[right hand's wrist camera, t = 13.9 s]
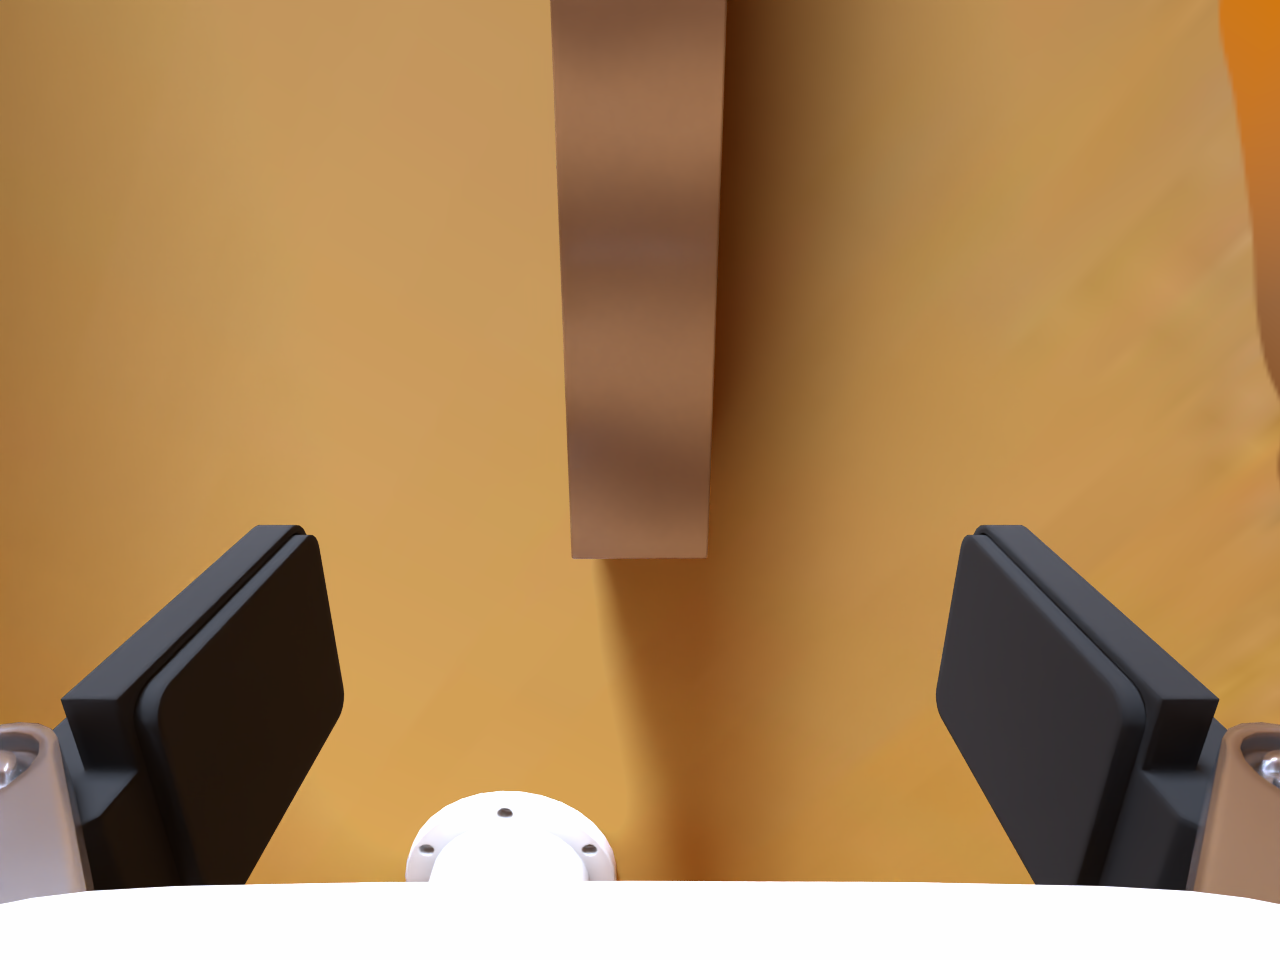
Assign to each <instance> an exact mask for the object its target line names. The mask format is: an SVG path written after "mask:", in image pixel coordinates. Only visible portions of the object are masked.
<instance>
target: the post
mask: <svg viewBox="0 0 1280 960" xmlns="http://www.w3.org/2000/svg"><path fill="white" fill-rule="evenodd" d="M550 6H551V32H552V58H553V85H554V111H555V137H556V163H557V189H558V215H559V241H560V267H561V293H562V319H563V346H564V372H565V398H566V424H567V450H568V476H569V502H570V528H571V554H572V558H573V559H706V558H707V556H708V528H709V499H710V471H711V442H712V414H713V385H714V357H715V328H716V300H717V271H718V243H719V215H720V186H721V158H722V129H723V101H724V72H725V44H726V15H727V0H550Z"/></svg>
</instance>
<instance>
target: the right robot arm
mask: <svg viewBox="0 0 1280 960" xmlns="http://www.w3.org/2000/svg"><path fill="white" fill-rule="evenodd" d="M61 702H62V705H63V708H64V711H65V714H66V718H65V719H64V720H63V721H62V722H61V723H60V724H59V725H58V726H57V727H55V728H54V729H53V730H52V729H51V728H48V727H46V726H43V725H41V724H38V723H22V722H18V723H10V724H2V725H0V960H1280V725H1278V724H1270V723H1262V722H1258V723H1242V724H1239V725H1237V726H1234V727H1232V728H1229V729H1228V730H1227V729H1226V728H1225V727H1223V726H1222V725H1221V724H1220V723H1219V722H1218V721H1217V720H1216V719H1215V718H1214V714H1215V711H1216V708H1217V705H1218V702H1219V698H1217V697H1216V696H1215V695H1214V694H1213V693H1212V692H1211V691H1210V690H1208V689H1207V688H1206V687H1205V686H1204V685H1203V684H1202V683H1201V682H1199V681H1198V680H1197V679H1196V678H1195V677H1194V676H1193V675H1192V674H1190V673H1189V672H1188V671H1187V670H1186V669H1185V668H1184V667H1183V666H1181V665H1180V664H1179V663H1178V662H1177V661H1176V660H1175V659H1174V658H1172V657H1171V656H1170V655H1169V654H1168V653H1167V652H1166V651H1165V650H1163V649H1162V648H1161V647H1160V646H1159V645H1158V644H1157V643H1156V642H1154V641H1153V640H1152V639H1151V638H1150V637H1149V636H1148V635H1147V634H1145V633H1144V632H1143V631H1142V630H1141V629H1140V628H1139V627H1138V626H1136V625H1135V624H1134V623H1133V622H1132V621H1131V620H1130V619H1129V618H1127V617H1126V616H1125V615H1124V614H1123V613H1122V612H1121V611H1120V610H1118V609H1117V608H1116V607H1115V606H1114V605H1113V604H1112V603H1111V602H1109V601H1108V600H1107V599H1106V598H1105V597H1104V596H1103V595H1102V594H1100V593H1099V592H1098V591H1097V590H1096V589H1095V588H1094V587H1093V586H1091V585H1090V584H1089V583H1088V582H1087V581H1086V580H1085V579H1084V578H1082V577H1081V576H1080V575H1079V574H1078V573H1077V572H1076V571H1075V570H1073V569H1072V568H1071V567H1070V566H1069V565H1068V564H1067V563H1066V562H1064V561H1063V560H1062V559H1061V558H1060V557H1059V556H1058V555H1057V554H1055V553H1054V552H1053V551H1052V550H1051V549H1050V548H1049V547H1048V546H1046V545H1045V544H1044V543H1043V542H1042V541H1041V540H1040V539H1039V538H1037V537H1036V536H1035V535H1034V534H1033V533H1032V532H1031V531H1030V530H1028V529H1027V528H1026V527H1024V526H1022V525H981V526H979V527H978V528H977V529H976V531H975V533H974V535H967V536H966V537H964V539H963V541H962V544H961V549H960V555H959V560H958V566H957V572H956V578H955V584H954V590H953V595H952V601H951V607H950V613H949V619H948V624H947V630H946V636H945V642H944V648H943V654H942V659H941V665H940V671H939V677H938V683H937V689H936V702H937V708H938V711H939V714H940V716H941V718H942V720H943V722H944V724H945V725H946V727H947V729H948V731H949V733H950V734H951V736H952V738H953V740H954V741H955V743H956V745H957V747H958V748H959V750H960V752H961V754H962V756H963V757H964V759H965V761H966V763H967V764H968V766H969V768H970V770H971V772H972V773H973V775H974V777H975V779H976V780H977V782H978V784H979V786H980V787H981V789H982V791H983V793H984V795H985V796H986V798H987V800H988V802H989V803H990V805H991V807H992V809H993V810H994V812H995V814H996V816H997V818H998V819H999V821H1000V823H1001V825H1002V826H1003V828H1004V830H1005V832H1006V834H1007V835H1008V837H1009V839H1010V841H1011V842H1012V844H1013V846H1014V848H1015V849H1016V851H1017V853H1018V855H1019V857H1020V858H1021V860H1022V862H1023V864H1024V865H1025V867H1026V869H1027V871H1028V872H1029V874H1030V876H1031V878H1032V880H1033V881H1034V883H1035V885H1013V884H961V883H909V882H715V881H617V872H616V862H615V858H614V854H613V851H612V849H611V847H610V845H609V843H608V841H607V839H606V838H605V836H604V835H603V834H602V832H601V831H600V830H599V829H598V828H597V827H596V826H595V824H594V823H593V822H591V821H590V820H589V819H588V818H586V817H585V816H584V815H582V814H581V813H580V812H578V811H577V810H575V809H573V808H571V807H569V806H567V805H565V804H564V803H562V802H559V801H556V800H553V799H550V798H547V797H544V796H541V795H535V794H530V793H525V792H507V791H500V792H491V793H482V794H478V795H474V796H471V797H467V798H464V799H461V800H459V801H457V802H455V803H452V804H450V805H448V806H446V807H444V808H443V809H442V810H440V811H439V812H438V813H436V814H435V815H434V816H432V817H431V818H430V819H429V820H428V821H427V822H426V824H425V825H424V826H423V827H422V828H421V829H420V831H419V833H418V835H417V837H416V838H415V840H414V842H413V845H412V848H411V851H410V854H409V857H408V860H407V865H406V875H405V877H406V882H370V883H319V884H268V885H245V883H246V881H247V880H248V878H249V876H250V874H251V872H252V871H253V869H254V867H255V865H256V864H257V862H258V860H259V858H260V857H261V855H262V853H263V851H264V849H265V848H266V846H267V844H268V842H269V841H270V839H271V837H272V835H273V834H274V832H275V830H276V828H277V826H278V825H279V823H280V821H281V819H282V818H283V816H284V814H285V812H286V810H287V809H288V807H289V805H290V803H291V802H292V800H293V798H294V796H295V795H296V793H297V791H298V789H299V787H300V786H301V784H302V782H303V780H304V779H305V777H306V775H307V773H308V772H309V770H310V768H311V766H312V764H313V763H314V761H315V759H316V757H317V756H318V754H319V752H320V750H321V748H322V747H323V745H324V743H325V741H326V740H327V738H328V736H329V734H330V733H331V731H332V729H333V727H334V725H335V724H336V722H337V720H338V718H339V716H340V714H341V711H342V708H343V702H344V689H343V683H342V677H341V671H340V665H339V659H338V654H337V648H336V642H335V636H334V630H333V624H332V619H331V613H330V607H329V601H328V595H327V590H326V584H325V578H324V572H323V566H322V560H321V555H320V549H319V544H318V541H317V539H316V537H314V536H313V535H306V533H305V531H304V529H303V528H302V527H301V526H299V525H258V526H256V527H254V528H253V529H252V530H250V531H249V532H248V533H247V534H246V535H245V536H244V537H243V538H241V539H240V540H239V541H238V542H237V543H236V544H235V545H234V546H232V547H231V548H230V549H229V550H228V551H227V552H226V553H225V554H223V555H222V556H221V557H220V558H219V559H218V560H217V561H216V562H214V563H213V564H212V565H211V566H210V567H209V568H208V569H207V570H205V571H204V572H203V573H202V574H201V575H200V576H199V577H198V578H196V579H195V580H194V581H193V582H192V583H191V584H190V585H189V586H187V587H186V588H185V589H184V590H183V591H182V592H181V593H180V594H178V595H177V596H176V597H175V598H174V599H173V600H172V601H171V602H169V603H168V604H167V605H166V606H165V607H164V608H163V609H162V610H160V611H159V612H158V613H157V614H156V615H155V616H154V617H153V618H151V619H150V620H149V621H148V622H147V623H146V624H145V625H144V626H142V627H141V628H140V629H139V630H138V631H137V632H136V633H135V634H133V635H132V636H131V637H130V638H129V639H128V640H127V641H126V642H124V643H123V644H122V645H121V646H120V647H119V648H118V649H117V650H115V651H114V652H113V653H112V654H111V655H110V656H109V657H108V658H106V659H105V660H104V661H103V662H102V663H101V664H100V665H99V666H97V667H96V668H95V669H94V670H93V671H92V672H91V673H90V674H88V675H87V676H86V677H85V678H84V679H83V680H82V681H81V682H79V683H78V684H77V685H76V686H75V687H74V688H73V689H72V690H70V691H69V692H68V693H67V694H66V695H65V696H64V697H63V698H61Z"/></svg>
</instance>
